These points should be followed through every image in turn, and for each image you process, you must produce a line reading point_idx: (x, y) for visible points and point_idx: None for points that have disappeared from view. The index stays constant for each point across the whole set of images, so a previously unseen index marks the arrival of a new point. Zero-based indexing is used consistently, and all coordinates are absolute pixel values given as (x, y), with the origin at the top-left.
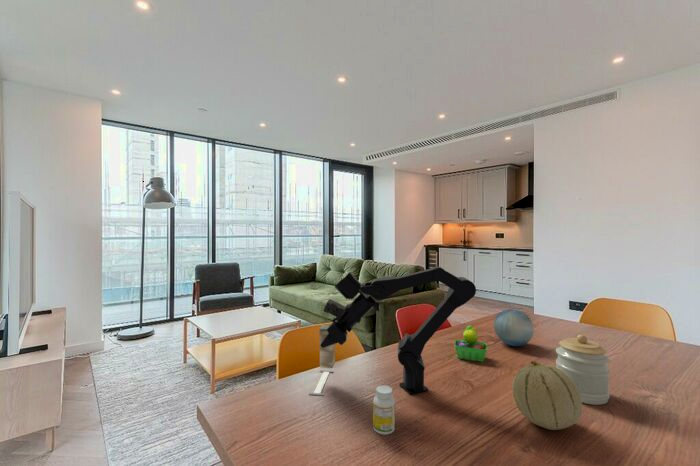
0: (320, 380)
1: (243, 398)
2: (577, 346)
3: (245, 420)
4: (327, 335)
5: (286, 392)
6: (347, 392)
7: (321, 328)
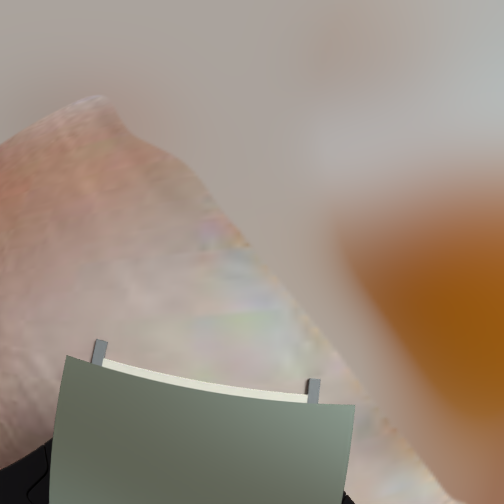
0: (215, 388)
1: (120, 142)
2: None
3: (20, 174)
4: (3, 468)
5: (128, 253)
6: None
7: (89, 403)
